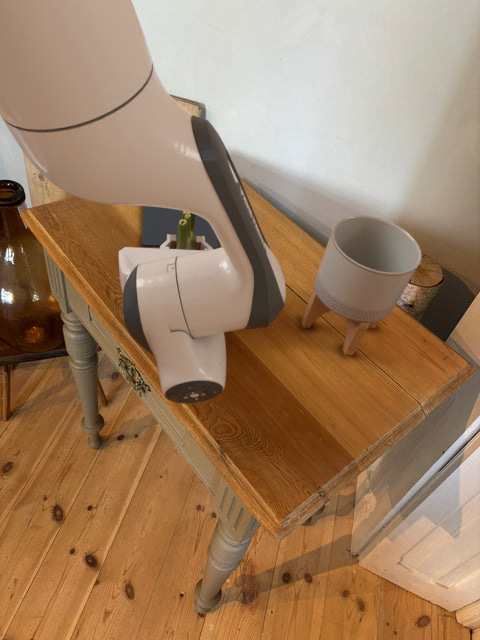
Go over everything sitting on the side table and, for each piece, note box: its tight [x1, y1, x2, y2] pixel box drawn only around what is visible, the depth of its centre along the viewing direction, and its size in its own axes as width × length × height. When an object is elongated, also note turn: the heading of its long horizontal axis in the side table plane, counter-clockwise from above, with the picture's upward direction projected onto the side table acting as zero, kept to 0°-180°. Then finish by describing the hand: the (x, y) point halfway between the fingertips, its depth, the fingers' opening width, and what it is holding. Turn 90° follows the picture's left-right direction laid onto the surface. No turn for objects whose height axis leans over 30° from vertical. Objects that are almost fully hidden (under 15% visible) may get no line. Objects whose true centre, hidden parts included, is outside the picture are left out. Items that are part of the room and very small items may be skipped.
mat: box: [141, 206, 219, 249], centre depth 90 cm, size 14×13×1 cm
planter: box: [300, 214, 422, 356], centre depth 72 cm, size 13×13×18 cm
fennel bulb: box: [176, 211, 196, 250], centre depth 74 cm, size 6×5×12 cm
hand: (185, 238), depth 74 cm, fingers closed on fennel bulb, 3 cm apart
